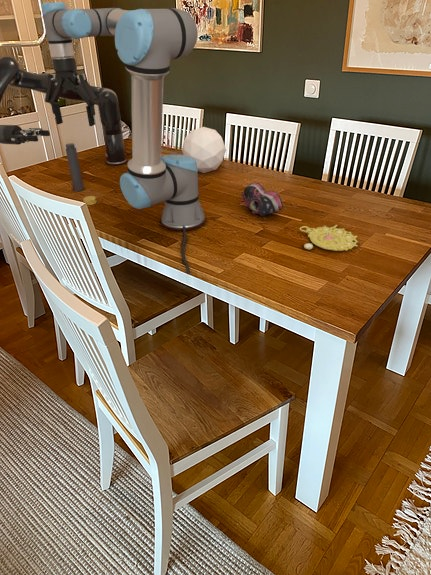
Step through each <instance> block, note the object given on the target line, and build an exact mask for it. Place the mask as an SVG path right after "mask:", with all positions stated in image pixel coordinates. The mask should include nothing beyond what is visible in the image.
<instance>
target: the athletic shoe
mask: <svg viewBox="0 0 431 575" xmlns="http://www.w3.org/2000/svg"><path fill="white" fill-rule="evenodd" d="M241 197H242V199H243V201H238V203H239V204H241V205H245V206H246V207H247V208H248V210H249V211H250V210H251V213H252V214H255V215H260V217H266V216H267V215H270V214H274V213H275V212H279V211H282V210H283V209H284V205H283V201H282V198H281V196H280V195H279V194H278V192H277V191H274V190H269V191H267V190H266V189H265V187H264V186H263V185H262V184H261V183H258V182H251V183H249V184H247V186H246V187H245V188H244V190H243V191H242V192H241Z"/></svg>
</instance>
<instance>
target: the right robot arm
mask: <svg viewBox="0 0 431 575" xmlns="http://www.w3.org/2000/svg"><path fill="white" fill-rule="evenodd" d="M41 13H42V19H43V25H44V29H45V33H46V38H47V43H48V48H49V54H50V58H52V59H51V62H52V67H53V71H54V72H52V73H51V72H50V73H51V74H48V85H47V91H46V94H45V97H44V102H45V103H47V104H50V107H51V111H52V114H53V115H54V118H55V122H56V125H61V124H63V123H64V121H63V116H62V111H61V106H60V103H58V101H59V99H60V98H59V97H60V95H61V93H62V91H63V89H66V88H69V89H72V88H73V89H74V90H75V91H76V92H77V93H78V94H79V95H80V96H81V98H82V99H83V100H84V101H83V102H84V103H85V104H86V106H85V108H86V115H87V121H88V126H89V127H93V126H96V120H95V116H96V109H95V104H97V103H99V101H98V99H97V97H96V95H95V94H94V92H93V90H92V88H91V86H92V85H90V82H89V81H88V77H87V74H86V73H81V74H79V73H78V71H77V70H78V66H77V61H76V58H75V50H74V44H73V39H76V40H78V39H84V38H93V37H114V46H115V50H116V51H117V56H118V58H119V60H120V61H121V62H122V63H123V64H124V68H125V70H126V71H127V72H128V73H129V74H130V81H131V82H130V83H131V84H130V85H131V86H130V88H131V90H130V91H131V92H130V93H131V151H132V152H131V153H132V154H131V155H132V158H131V159H129V160H128V162H127V168H126V169H127V172H124V173H123V174H121V176H120V178H119V187H120V190H121V193H122V195H123V197H124V198H125V200H126V201H127V203H128V204H129V205H130V206H131V207H132V208H134V209H136V210H142V209H146V208H150V207H153V206H155V205H158V204H160V203H164V204H163V209H162V213H161V219H160V220H161V225H162V227H163V228H165V229H167V230H170V231H175V232H176V231H177V232H182V233H183V240H182V243H181V258H182V261H183V263H184V265H185V268H186V273H187V275H190V274H191V269H190V265H189V263H188V262H187V259H186V256H185V245H186V242H187V231H192V230H195V229H198V228H201V227H202V226H203V225H204V224H205V223H206V215H205V212H204V210H203V208H202V204H201V202H200V196H199V173H198V172H199V171H198V170H197V162H196V160H195V159H194V158H192V157H190V156H186V155H183V154H165V155H162V148H163V146H162V145H163V144H162V143H163V113H164V112H163V111H164V110H163V108H164V82H165V80H164V78H165V77H166V76H167V75H169V73H170V70H171V69H170V68H171V61H172V60H177V59H182V58H185V57H186V56H188V55H189V54H191V52H192V51H193V50H194V48H195V47H196V44H197V42H198V34H199V32H198V26H197V23H196V21H195V19H194V17H192V15H191V14H190V13H189V12H187V11H186V10H183V9H180V8H176V7H171V8H137V9H133V10H127V9H122V8H120V7H106V8H69V9H67V6H66V4H65V2H60V1H59V2H43V3H41ZM55 80H57V81H58V83H57V85H56V89H55V92H54V87H55ZM78 81H79V82H81V84H82V86H83V88H84V89H83V88H82V86H81V85H80V83H79V82H78ZM84 90H85V91H84ZM53 93H54V94H53Z"/></svg>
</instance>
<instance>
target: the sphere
mask: <svg viewBox="0 0 431 575" xmlns="http://www.w3.org/2000/svg"><path fill="white" fill-rule="evenodd" d="M226 151H227V148H226V145H225V142H224V140H223V137H222V136H221V134H219V132H218V131H217V130H216V129H213V128H211V127H206V126H202V127H198V128H195V129H191V131H189V133H188V134H187V135H186V136H185V137H184V141H183V145H182V148H181V152H182V155H186V156H190V157H192V158H194V159H195V160H196V162H197V170H198V172H199V173H203V174H206V173H210V172H212V171H216V170H217V169H218V168H219V167H220V165H221V164H222V163H223V161H224V158H225V155H226V153H227V152H226Z"/></svg>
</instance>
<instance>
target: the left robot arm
mask: <svg viewBox="0 0 431 575" xmlns="http://www.w3.org/2000/svg"><path fill="white" fill-rule="evenodd" d="M48 74H51V72H47V73H34V72H30V71H27V70H24V69H21V68H20V65H19V63H18V61H17V60H16V59H15V58H13V57H11V56H8V55H5V56H1V57H0V105H1V103H2V100H3V97H4V94H5V92H6V90H7V88H8V86H10V87H15V88H22V89H26V90H31V91H36V92H39V93H42V94H45V95H46V91H47V85H48ZM78 82H79V83H80V85H81V86H82V84H81V82H80V81H79V80H78ZM57 83H58V81H57V80H55V87H54V92H55V89H56V85H57ZM90 86H91V88H92V90H93V92H94V94H95V95H96V97H97V99H98V101H99V103H97V104H95V105H96V106H97V110H98V115H99V121H100V125H101V131H102V138H103V144H104V149H105V150H104V151H105V153H104V155H105V157H106V164H108V165H111V166H119V165H123V164H126V163H127V155H128V156H129V155H132V152H127V151H126V147H125V141H124V135H123V134H124V133H123V127H122V120H121V119H122V118H121V113H120V112H121V111H120V106H119V98H118V95H117V94H116V92H115V91H114V90H112V89H110V88H107V87H100V86H94V85H90ZM82 88H83V86H82ZM83 89H84V88H83ZM84 91H85V90H84ZM53 94H54V93H53ZM59 99H63V100H67V101H77V102H79V101H80V102H85V101H84V100H83V99H82V98H81V96H80V95H79V94H78V93H77V92H76V91H75V90H74V89H73V88H72V89H69V88H66V89H63V91H62V93H61V95H60V97H59ZM95 105H94V106H95ZM50 136H51V133H50V130H48V129H43V128H42V127H29V128H28V129H27V128H23V129H22V127H21V126H20V125H18V124H0V144H3V145H21V144H25V143H30V142H35V143H36V142H39V137H50Z"/></svg>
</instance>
